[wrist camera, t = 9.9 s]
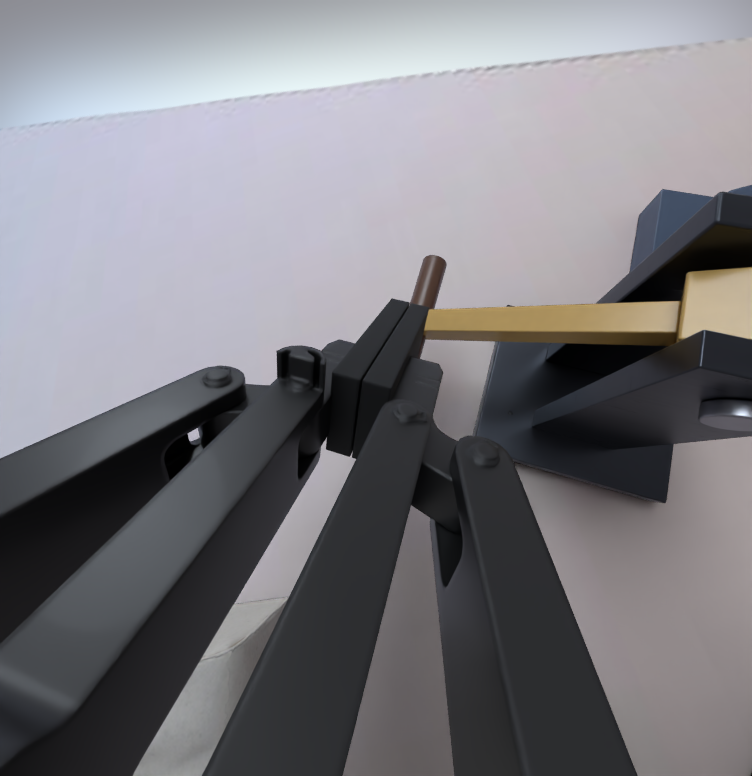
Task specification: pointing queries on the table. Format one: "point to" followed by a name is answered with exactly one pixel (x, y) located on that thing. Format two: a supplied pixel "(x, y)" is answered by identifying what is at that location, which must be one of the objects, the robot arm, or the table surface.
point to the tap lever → (596, 314)
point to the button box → (667, 219)
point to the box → (211, 692)
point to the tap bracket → (630, 376)
